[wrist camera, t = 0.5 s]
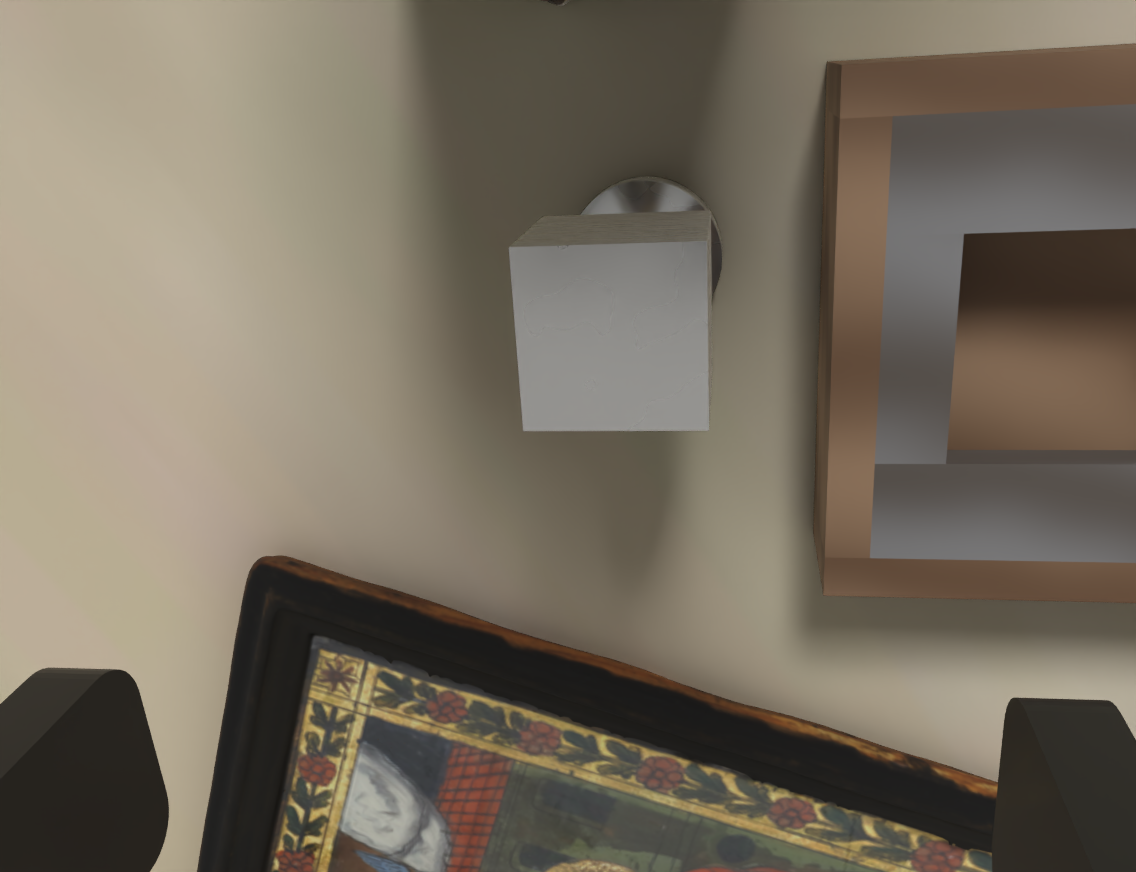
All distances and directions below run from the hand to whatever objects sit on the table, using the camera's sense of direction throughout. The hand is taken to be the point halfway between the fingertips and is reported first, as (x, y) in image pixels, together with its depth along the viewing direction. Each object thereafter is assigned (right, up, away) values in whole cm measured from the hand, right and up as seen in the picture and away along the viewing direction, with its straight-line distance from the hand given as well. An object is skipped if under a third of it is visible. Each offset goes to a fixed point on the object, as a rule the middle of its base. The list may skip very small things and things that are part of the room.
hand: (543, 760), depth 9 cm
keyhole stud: (+3, +8, +21) cm, 22 cm away
